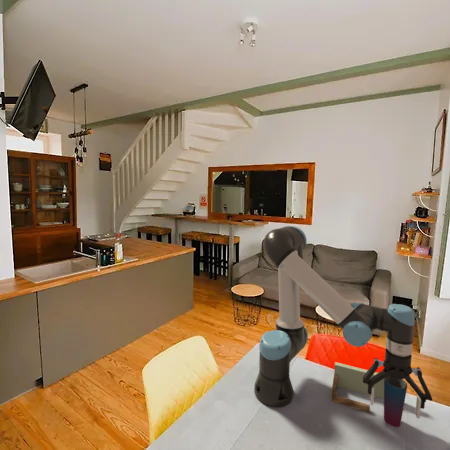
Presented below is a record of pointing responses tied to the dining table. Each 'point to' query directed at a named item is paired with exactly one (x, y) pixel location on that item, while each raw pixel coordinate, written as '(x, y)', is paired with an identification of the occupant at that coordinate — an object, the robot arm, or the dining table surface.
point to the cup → (394, 400)
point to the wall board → (356, 380)
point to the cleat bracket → (345, 400)
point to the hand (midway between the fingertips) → (394, 408)
